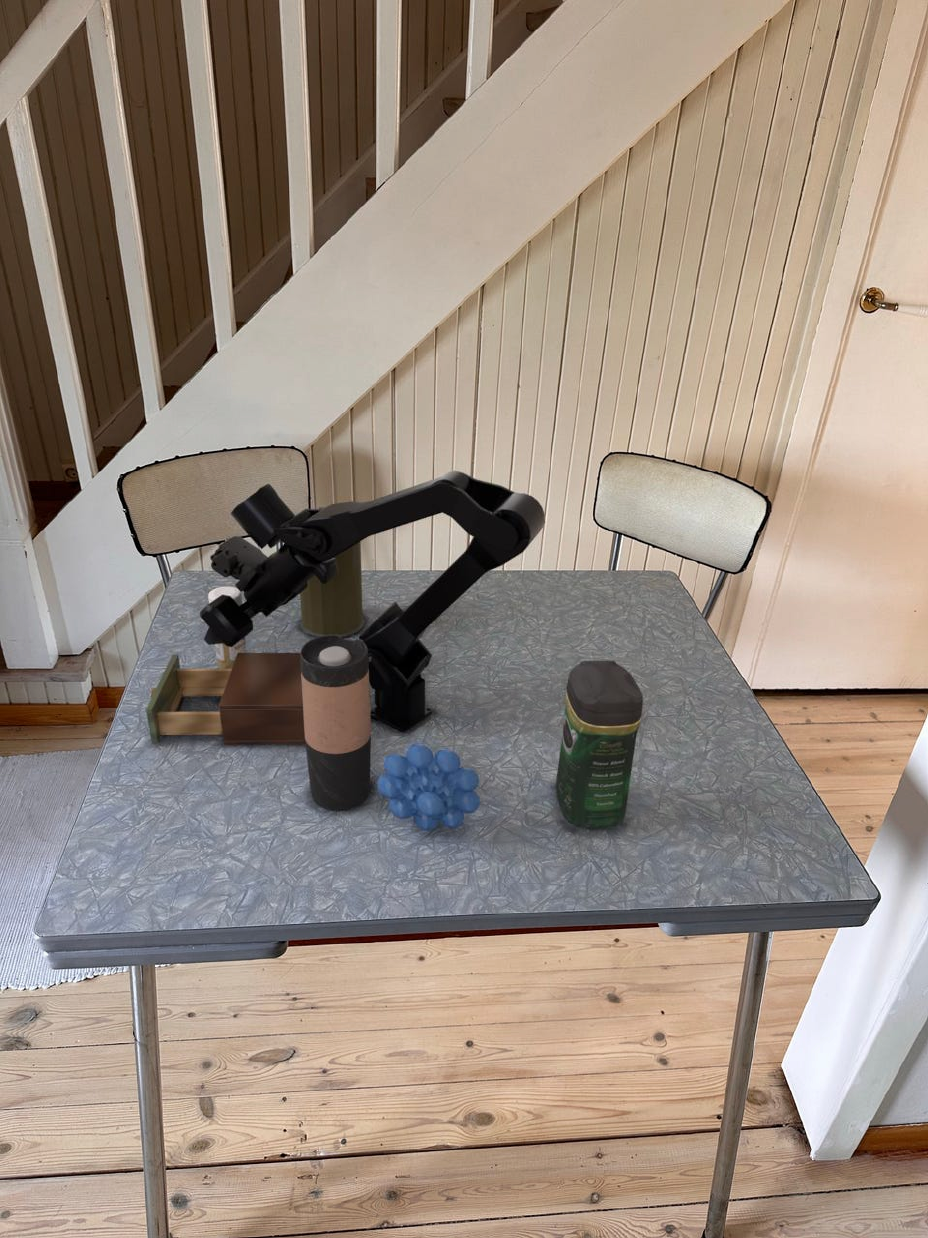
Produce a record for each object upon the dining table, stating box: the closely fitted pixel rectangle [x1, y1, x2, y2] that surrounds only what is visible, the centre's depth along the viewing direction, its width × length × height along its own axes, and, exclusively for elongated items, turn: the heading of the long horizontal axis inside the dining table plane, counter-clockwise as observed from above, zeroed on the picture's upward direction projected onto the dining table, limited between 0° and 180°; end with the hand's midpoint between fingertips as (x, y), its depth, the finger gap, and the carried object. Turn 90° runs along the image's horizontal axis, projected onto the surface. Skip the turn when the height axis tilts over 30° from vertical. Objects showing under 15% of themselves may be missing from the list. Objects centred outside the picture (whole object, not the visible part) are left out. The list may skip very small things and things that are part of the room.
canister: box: [299, 506, 365, 639], centre depth 135 cm, size 11×10×20 cm
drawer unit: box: [218, 652, 306, 746], centre depth 114 cm, size 12×13×6 cm
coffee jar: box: [555, 659, 644, 831], centre depth 97 cm, size 10×8×19 cm
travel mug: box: [299, 634, 372, 812], centre depth 98 cm, size 8×8×20 cm
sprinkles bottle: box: [207, 586, 248, 669], centre depth 122 cm, size 5×5×13 cm
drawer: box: [145, 654, 232, 745], centre depth 114 cm, size 13×14×5 cm
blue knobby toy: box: [376, 743, 481, 832], centre depth 93 cm, size 12×7×12 cm, turn 93°
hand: (226, 627), depth 122 cm, fingers open, 9 cm apart
